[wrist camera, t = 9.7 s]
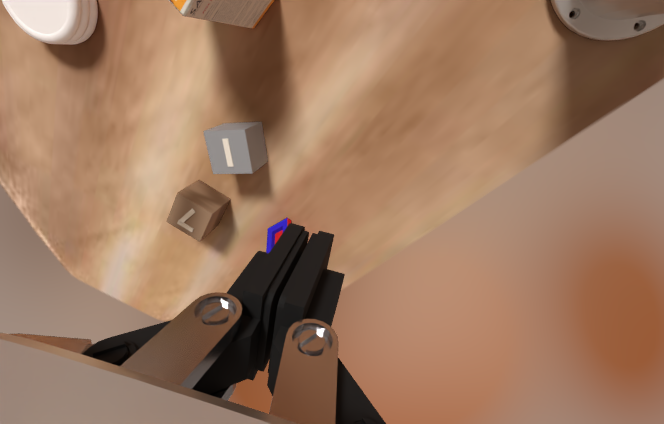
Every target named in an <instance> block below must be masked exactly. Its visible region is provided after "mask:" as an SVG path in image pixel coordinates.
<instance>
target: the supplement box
mask: <svg viewBox="0 0 664 424" xmlns="http://www.w3.org/2000/svg"><path fill="white" fill-rule="evenodd" d="M169 1H170V2H171V3H172V4H173V6H174V7H175V8H176V9H177V10H178V11H179V12H180V13H181V14H182V15H183V16H186V17H192V18H198V19H203V20H209V21H214V22H220V23H225V24H230V25H236V26H241V27H246V28H252V29H254V28H255V26H256V25H257V23H258V22H259V21H260V19H261V18H262V17H263V15H264V14H265V13H266V11H267V10H268V8H269V7H270V6H271V4H272V3H273V2H274V0H169Z"/></svg>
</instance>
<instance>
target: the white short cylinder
mask: <svg viewBox="0 0 664 424" xmlns="http://www.w3.org/2000/svg"><path fill="white" fill-rule="evenodd" d="M2 2H3V4H4V6H5V8H6V9H7V11H8V13H9V14H10V16H11V17H12V18H13V20H14V21H15V22H16V23H17V25H18V26H19V27H20V28H21V29H22V30H23V31H25V32H26V33H27V34H28V35H30V36H31V37H33V38H35V39H37V40H39V41H41V42H45V43H48V44H69V45H74V44H79V43H82V42H84V41H86V40H87V39H88V38H89V37H90V36H91V35H92V34H93V32H94V30H95V27H96V24H97V19H98V5H97V0H2Z"/></svg>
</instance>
